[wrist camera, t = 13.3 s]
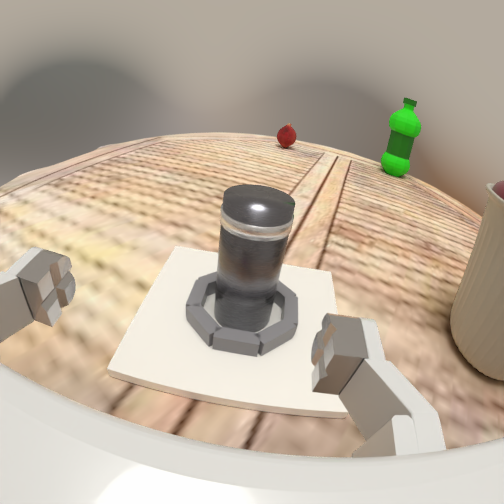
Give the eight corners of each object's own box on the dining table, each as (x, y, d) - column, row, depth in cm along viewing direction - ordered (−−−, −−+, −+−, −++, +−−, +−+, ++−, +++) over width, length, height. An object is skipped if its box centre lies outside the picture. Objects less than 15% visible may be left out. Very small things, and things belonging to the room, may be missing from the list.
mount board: (109, 376, 20) (102, 356, 19) (176, 253, 36) (176, 234, 34) (344, 418, 20) (357, 402, 18) (328, 278, 35) (334, 261, 34)
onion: (288, 151, 88) (292, 125, 84) (272, 146, 90) (275, 121, 86) (297, 149, 92) (301, 125, 88) (281, 144, 95) (285, 121, 90)
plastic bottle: (402, 181, 82) (422, 102, 69) (372, 169, 88) (389, 92, 74) (410, 178, 88) (429, 106, 75) (383, 166, 94) (399, 97, 81)
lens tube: (207, 328, 25) (214, 205, 19) (219, 290, 29) (229, 180, 24) (268, 339, 25) (297, 219, 19) (272, 299, 29) (295, 191, 23)
